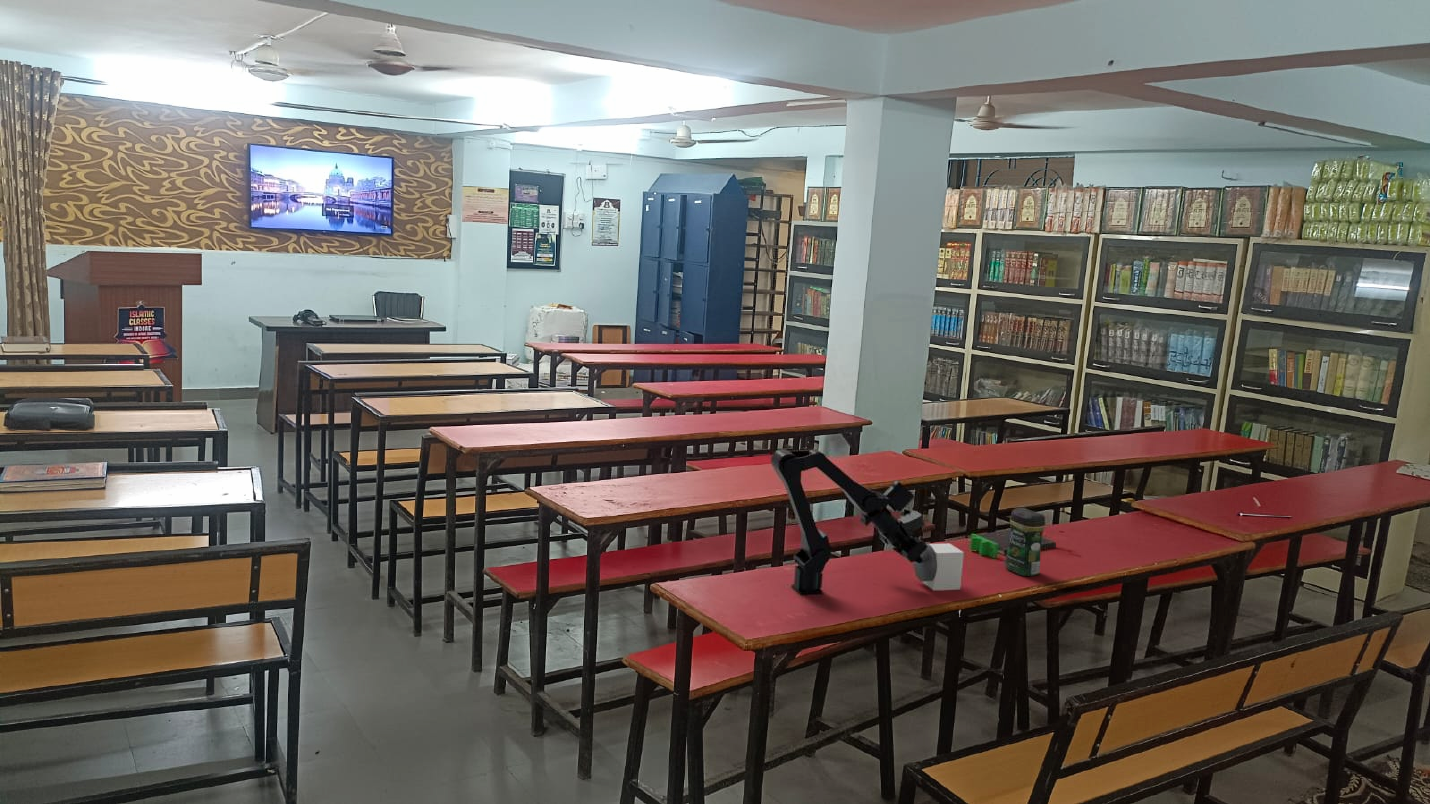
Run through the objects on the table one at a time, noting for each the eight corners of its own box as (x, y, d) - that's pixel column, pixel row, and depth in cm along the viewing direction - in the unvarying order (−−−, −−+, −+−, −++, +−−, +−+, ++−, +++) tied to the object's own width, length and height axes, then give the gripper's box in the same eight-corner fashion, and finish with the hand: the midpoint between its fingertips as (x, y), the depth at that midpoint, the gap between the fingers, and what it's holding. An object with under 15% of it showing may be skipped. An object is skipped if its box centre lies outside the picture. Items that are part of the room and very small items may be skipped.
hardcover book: (966, 542, 315) (967, 535, 314) (1017, 535, 326) (1018, 528, 326) (1004, 557, 301) (1004, 550, 301) (1055, 549, 313) (1056, 542, 312)
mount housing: (933, 590, 266) (937, 553, 264) (920, 580, 274) (923, 544, 272) (960, 589, 268) (963, 552, 266) (946, 579, 276) (949, 543, 274)
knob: (928, 586, 264) (931, 551, 263) (911, 574, 274) (915, 539, 272) (951, 585, 266) (955, 550, 264) (934, 573, 275) (937, 539, 274)
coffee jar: (999, 567, 289) (1006, 506, 286) (1020, 565, 292) (1026, 504, 289) (1023, 578, 280) (1030, 515, 277) (1044, 575, 284) (1051, 513, 281)
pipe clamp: (963, 548, 307) (964, 534, 306) (972, 547, 308) (973, 533, 308) (987, 559, 297) (988, 544, 296) (997, 558, 298) (998, 543, 298)
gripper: (923, 512, 255) (958, 551, 260) (893, 493, 273) (926, 531, 277) (893, 542, 254) (928, 581, 259) (864, 522, 272) (898, 558, 277)
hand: (920, 561), depth 268 cm, fingers closed, pressing on knob
